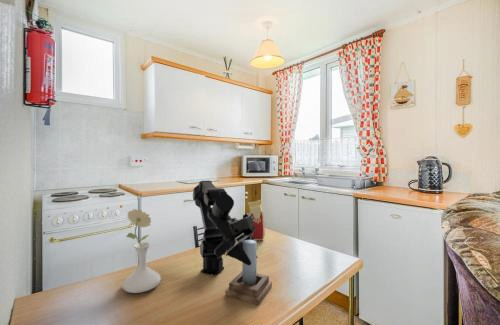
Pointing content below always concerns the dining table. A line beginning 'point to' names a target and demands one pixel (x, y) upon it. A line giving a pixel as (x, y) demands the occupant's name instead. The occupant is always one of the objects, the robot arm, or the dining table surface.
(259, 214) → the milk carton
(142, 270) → the flower in vase
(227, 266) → the dining table surface
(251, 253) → the blue-gray capsule
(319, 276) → the dining table surface
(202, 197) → the robot arm
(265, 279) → the socket base
